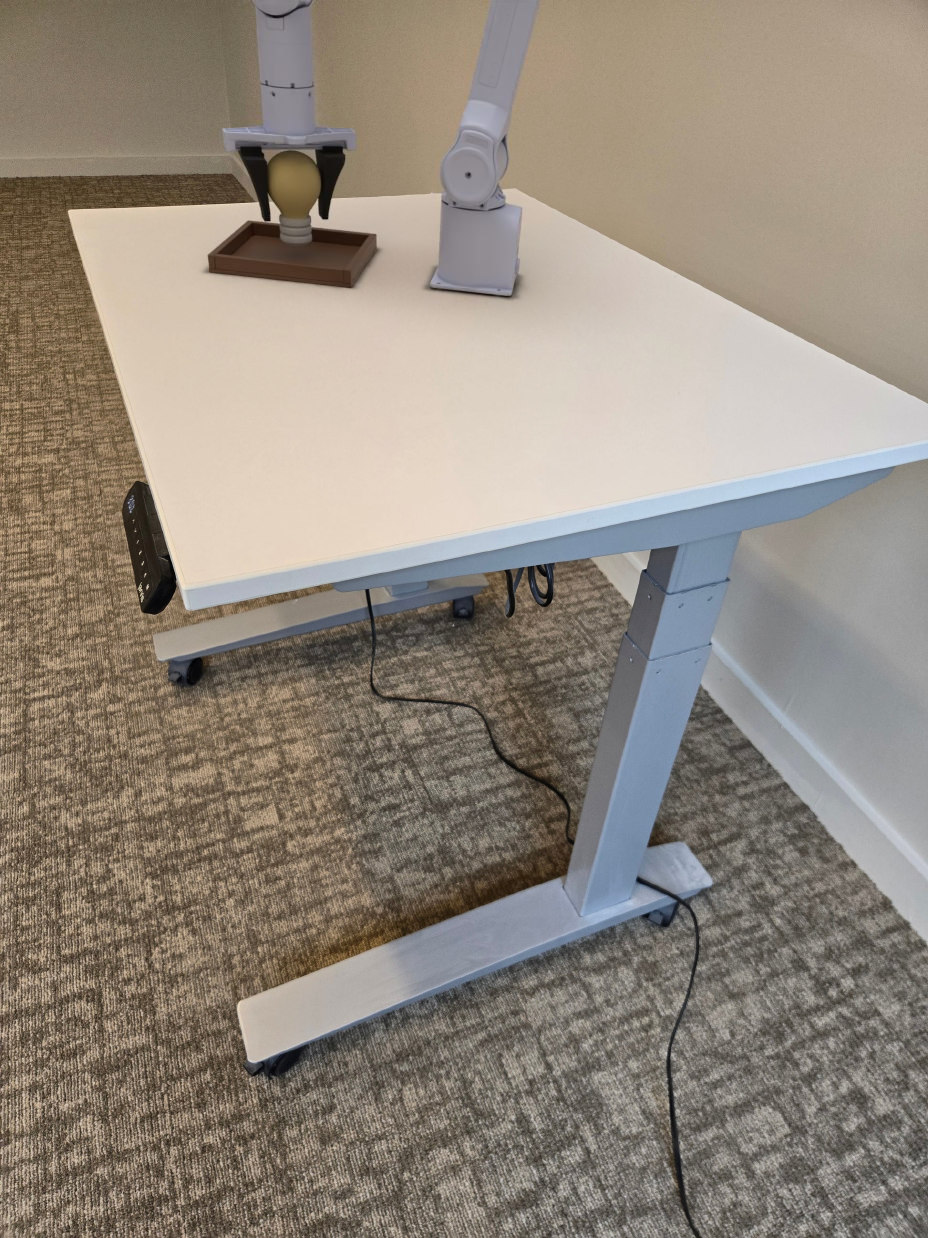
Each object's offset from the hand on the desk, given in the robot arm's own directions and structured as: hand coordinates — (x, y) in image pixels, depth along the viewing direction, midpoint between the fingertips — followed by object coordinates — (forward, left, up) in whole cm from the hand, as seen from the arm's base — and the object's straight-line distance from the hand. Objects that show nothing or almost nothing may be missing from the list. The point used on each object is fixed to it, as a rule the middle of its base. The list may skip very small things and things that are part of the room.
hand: (294, 218), depth 102 cm
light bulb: (0, 0, -3) cm, 3 cm away
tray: (0, 0, -5) cm, 5 cm away
